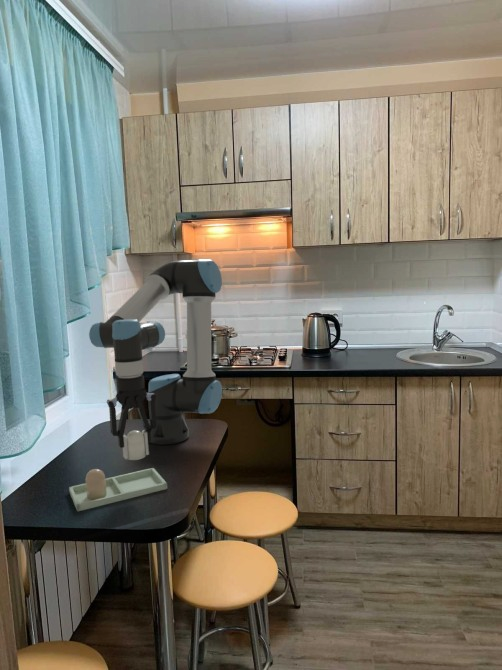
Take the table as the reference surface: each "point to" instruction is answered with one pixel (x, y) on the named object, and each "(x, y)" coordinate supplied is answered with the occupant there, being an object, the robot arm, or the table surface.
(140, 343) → the robot arm
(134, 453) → the egg white
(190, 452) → the table surface
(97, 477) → the egg brown
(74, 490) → the green divided tray
